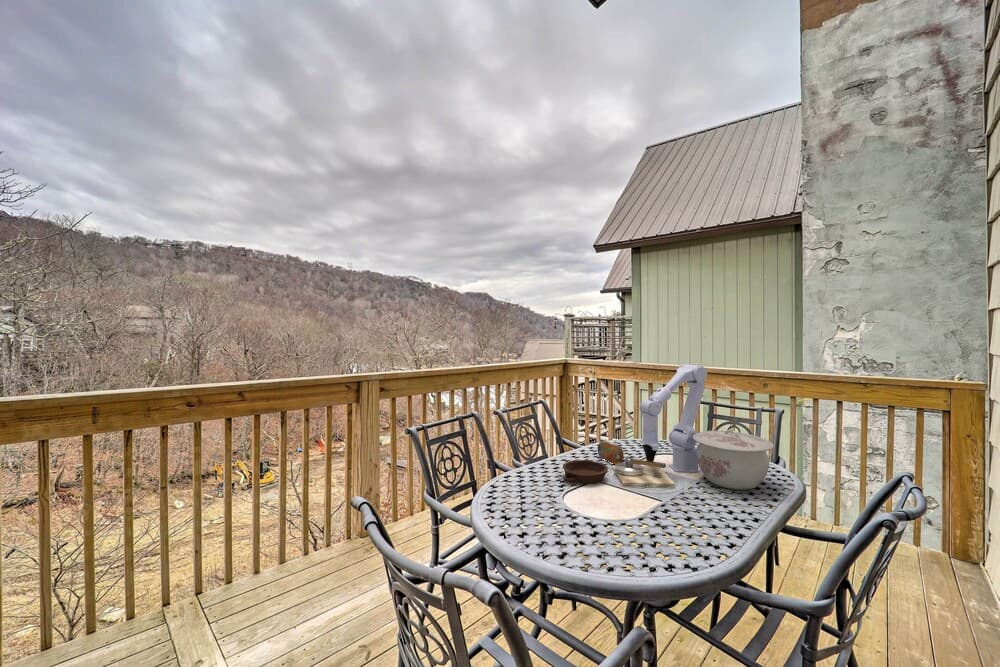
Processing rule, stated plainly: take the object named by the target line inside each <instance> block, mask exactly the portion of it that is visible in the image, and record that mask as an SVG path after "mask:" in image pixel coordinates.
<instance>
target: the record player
mask: <svg viewBox="0 0 1000 667" xmlns="http://www.w3.org/2000/svg"><path fill="white" fill-rule="evenodd" d="M642 466H643V474H642V475H639V476H627V475H622V474H619V473H617V472H616V471H615V465H613V464H612V470H614V471H613V472H614V474H615V473H616V474H615V476H616V475H617V476H616V477H617V479H618V480H620V481H619V482H620V484H621V485H622V487H623V486H624V488H626V486H627V488H631V487H632V488H667V487H675V486H676V484H675V482H674V481H673V480H672V479H671V478H670V477H669V475H667V474H666V473H665V471H664V470H663V468H659V467H652V466H645V465H642ZM647 486H648V487H647ZM653 486H655V487H653Z"/></svg>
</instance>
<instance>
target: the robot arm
mask: <svg viewBox="0 0 1000 667" xmlns="http://www.w3.org/2000/svg"><path fill="white" fill-rule="evenodd" d="M707 377H708V372H707V370H706V368H705V367H704V366H703V365H700V364H699V365H697V364H688V363H682V364H680V366H679V367H677V368H676V373H675V374H674V375H673V376H672V377H671V379H670V380H669V381H668V382H667V383H666V384H665V386H664V387H663V386H661V387H657V388H656V389H655V390H656V391H655V392H654V393H652V394H651V395H650V396H649V397H648V398H647V399H644V400H643V401H642V402H641V403H640V406H639V411H640V412H641V416H642V439H640V440H639V443H640V444H642V445H641V447H642V449H643V451H644V455H645V461H652V462H655V458H656V454H657V453H658V451H659V438H658V436H659V435H658V434H659V433H658V432H659V431H658V429H659V428H658V426H659V424H658V423H659V422H658V420H659V419H658V418H659V416H658V415H660V414H661V411H662V408H663V406H664V405H666V403H667V402H668V401H669V400H670V399H671V398H672V393H673V392H674V391H675V390H676V389H678V388H679V387H680V386H681V385H682V384H683V383H684V382H685V383H686V384H687V385H688V387H689V389H688V393H687V397H686V398H685V403H684V406H683V410H682V412H681V415H680V420H679V421H678V423H676V424H675V425H673V427H672V430H670V432H669V434H668V441H669V442H670V443H671V447H672V463H671V464H670V463H669V467H670V468H672V470H673V471H674V472H677V473H678V472H679V473H683V472H684V473H685V472H686V473H699V472H700V471H699V465H698V460H697V448H696V447H695V446H696V444H697V441H695V440H694V439H693V435H694V434H696V433H697V432H696V430H695V428H694V424H695V421H696V419H697V414H698V412H699V408H700V405H701V402H702V398H703V395H704V391H705V388H706V380H707Z"/></svg>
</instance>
